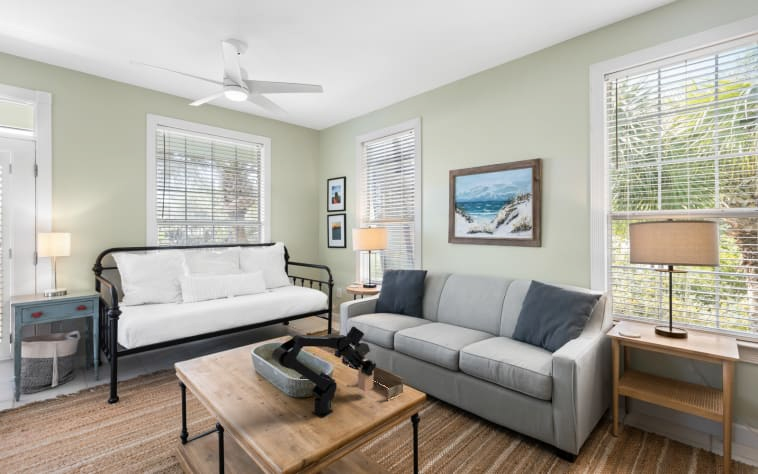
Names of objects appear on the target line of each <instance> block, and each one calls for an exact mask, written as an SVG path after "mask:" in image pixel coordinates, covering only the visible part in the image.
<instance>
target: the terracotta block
mask: <svg viewBox="0 0 758 474" xmlns="http://www.w3.org/2000/svg"><path fill="white" fill-rule="evenodd" d="M366 360H369V359H367V358H364V360H363V361H366ZM360 366H361V365H360ZM361 368H362V366H361ZM361 368H359V367H358V370H357V388H358V389H360V390H362V391H364V392H367V391H369V390H371V389H374V382H373V375H374V370H373V371H372V373H373V374H372V376H371V375H370V376H367V375H364V374H362V373H361Z"/></svg>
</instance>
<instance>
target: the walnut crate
mask: <svg viewBox="0 0 758 474" xmlns="http://www.w3.org/2000/svg"><path fill="white" fill-rule="evenodd" d="M373 380H374V381H376V382H378V383H380V384H382V385H385V386H386V387H388V388H389V389H387V388H386V400H387V399H390V398H392V397H395V396H397V395H399V394H401V393H403V394H404V377H403V376H400V375H398V374H396V373H393V372H391V371H388V370H386V369H384V368H381V367H379V366H377V365H376V367H375V368H374V375H373Z"/></svg>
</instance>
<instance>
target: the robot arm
mask: <svg viewBox="0 0 758 474" xmlns="http://www.w3.org/2000/svg"><path fill="white" fill-rule="evenodd" d="M364 336H365V333H364V332H363V331H362V330H360V329H358V328H357V327H356V326H353V325H352V327H351V328H350V329H349V331H348V332H347V334H346V335H344V334H338V333H335V332H333V333H328V334H326V335H301V334H296V335H294V336H293V337H292V338H291V339H288V340H287V341H285V342H284V343H282V344H280V346H278V347H276V348H275V349H274V350H273V352H271V353H272V354H271V360H272V361H274V362H275V363H276V364H277V365H280V366H281V367H283V368H285V369H289V370H293V371H295V372H297V374H299V375H300V376H304V377H305V378H307V379H308V381H310V382H313V385H314V387H313V388H312V390H311V395H312V396H313V397H315V398H314V410H312V411H311V413H312V414H314V415H315V416H318V417H320V418H325V417H326V416H328V415H330V414H332V413H333V412H334V409H332V401H333V400H334V397H335V395H336V394H335V393H336V391H337V387H338V385H337V382H336V379H334V378H332V377H331V376H330V375H329V374H327V373H324V372H322V371H320V373H319V374H318V373H317V372H315V371H314V370H312V369H311V368H309V367H308V366H307V365H305V364H304V363H302V362H300V360H299V359H298V358H297V357H298V356H299V354H300V352H301V351H302V349H303V348H304V347H305V348H306V347H315V348H316V347H322V348H323V347H326V348H330V349H333V350H334V357H336V358H339V359H340V358H341V357H342V359H341V364H343V365H344V366H346V367H348V368H349V369H353V370H356V371H358V367H359V368H361V366H362V368H361V373H362V374H364V375H367V376H370V375H371V376H372V374H373V373H372V371H373V370H374V368H375V367H376V366H377V363H376V362H375V361H373V360H371V359H368V360H366V361H363V360H365V359H366V357H365V356H366V355H368V353H370V352H371V349H370V346H369V344H368V343H366V342H361V341H362V339H363V337H364ZM360 365H361V366H360Z"/></svg>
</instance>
